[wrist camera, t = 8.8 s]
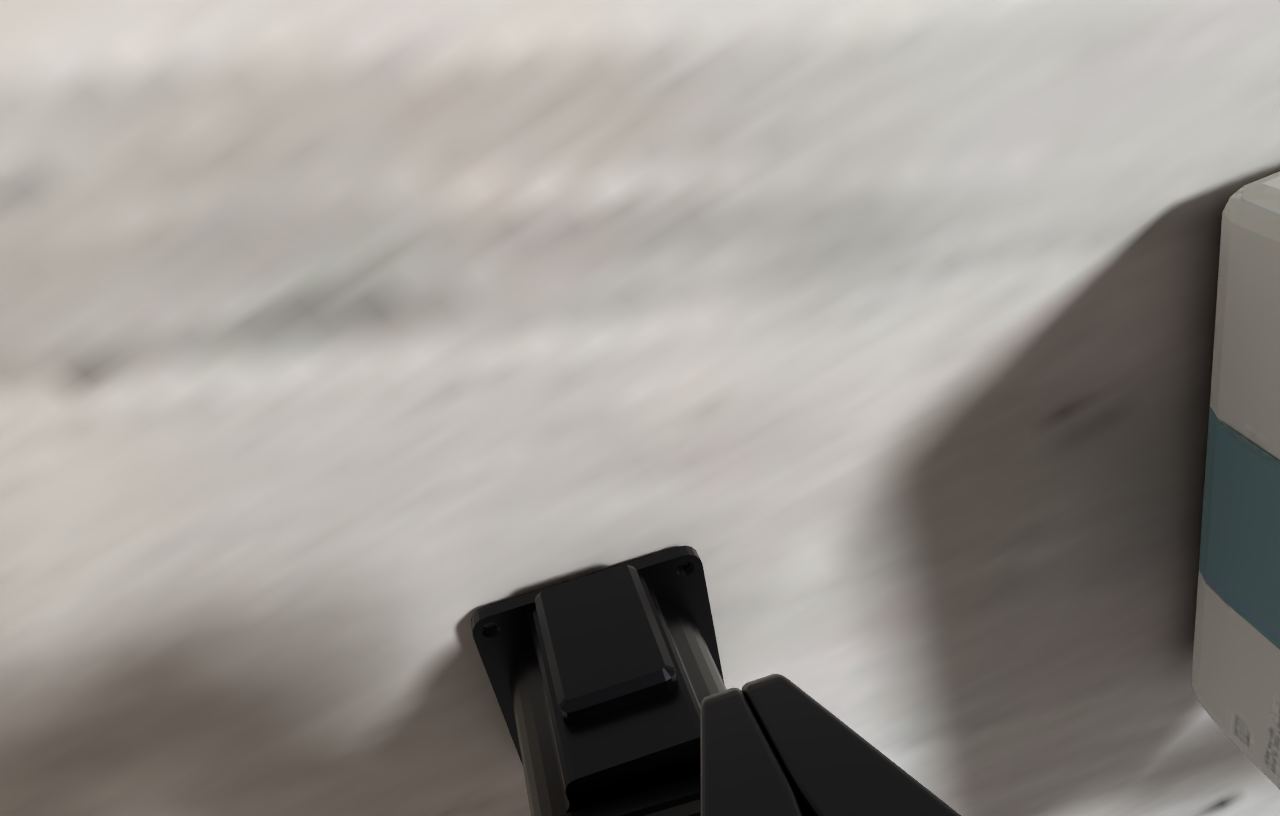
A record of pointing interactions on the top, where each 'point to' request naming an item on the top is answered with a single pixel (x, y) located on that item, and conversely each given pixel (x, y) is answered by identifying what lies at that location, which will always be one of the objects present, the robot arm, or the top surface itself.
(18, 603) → the top surface
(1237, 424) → the stereo radio cassette player
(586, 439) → the top surface
